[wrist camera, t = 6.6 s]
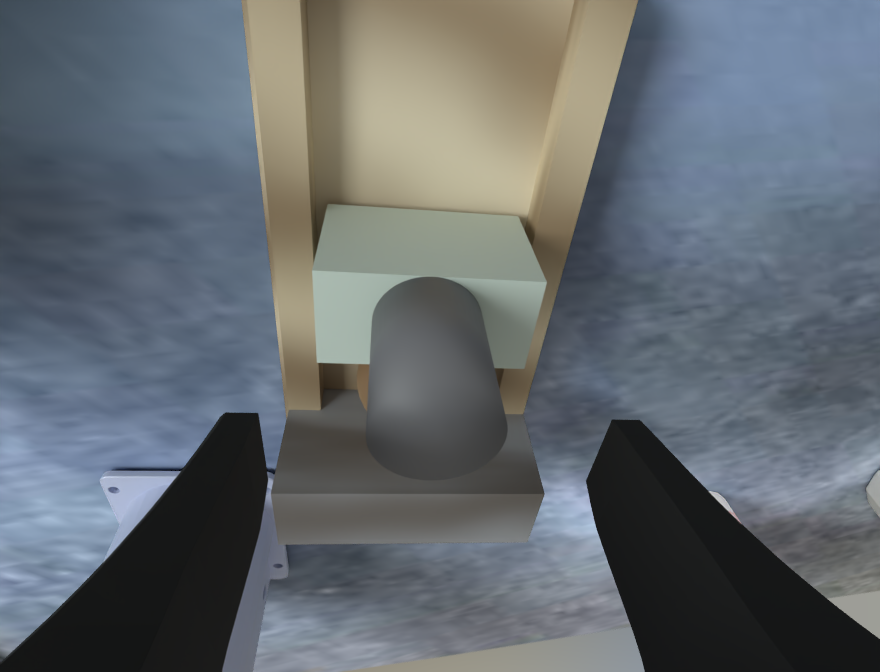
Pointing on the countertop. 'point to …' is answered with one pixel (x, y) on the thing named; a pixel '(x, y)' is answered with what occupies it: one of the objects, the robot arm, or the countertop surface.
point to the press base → (421, 188)
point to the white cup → (874, 493)
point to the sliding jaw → (427, 327)
